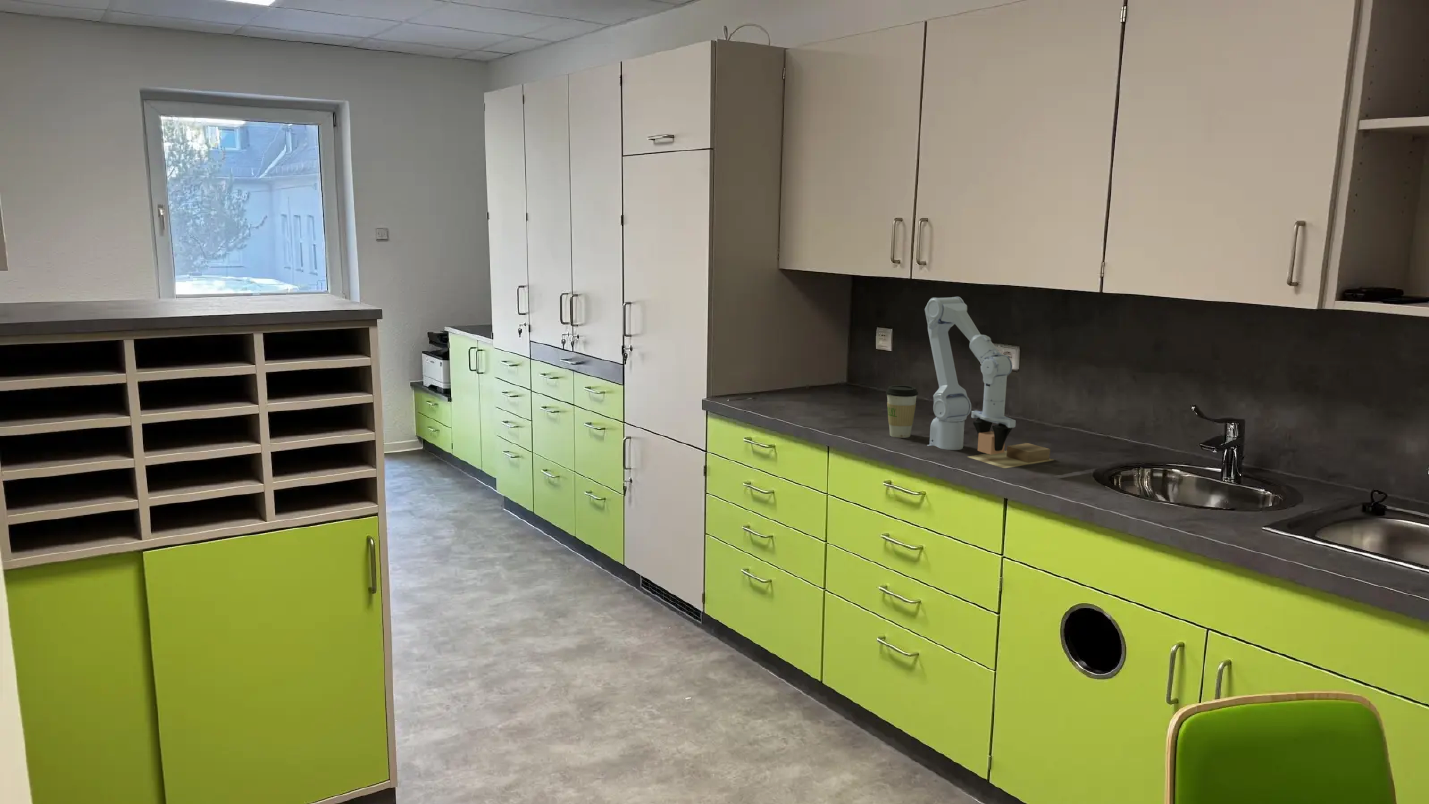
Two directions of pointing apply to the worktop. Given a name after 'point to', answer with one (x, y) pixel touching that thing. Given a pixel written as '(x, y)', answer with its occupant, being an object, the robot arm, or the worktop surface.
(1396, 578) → the worktop surface
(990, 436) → the cube
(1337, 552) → the worktop surface
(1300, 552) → the worktop surface
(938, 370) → the robot arm
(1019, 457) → the stacking base
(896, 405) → the coffee cup
